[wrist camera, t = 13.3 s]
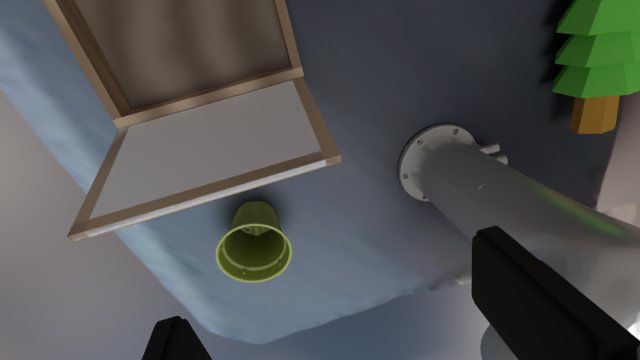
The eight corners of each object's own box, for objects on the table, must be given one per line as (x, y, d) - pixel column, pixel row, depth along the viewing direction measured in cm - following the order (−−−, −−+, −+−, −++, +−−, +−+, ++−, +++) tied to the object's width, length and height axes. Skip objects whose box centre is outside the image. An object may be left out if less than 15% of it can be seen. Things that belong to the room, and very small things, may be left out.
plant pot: (260, 252, 49) (261, 293, 41) (209, 223, 45) (199, 262, 37) (299, 212, 47) (307, 247, 39) (249, 178, 43) (247, 210, 35)
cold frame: (260, -81, 31) (260, -97, 27) (299, 71, 38) (304, 75, 34) (52, -28, 30) (20, -37, 26) (132, 118, 37) (117, 128, 33)
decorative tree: (628, 153, 37) (720, -202, 22) (527, 135, 46) (544, -125, 31) (665, 113, 41) (765, -211, 26) (566, 105, 50) (597, -139, 35)
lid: (340, 155, 23) (341, 161, 23) (302, 77, 34) (304, 82, 34) (66, 236, 22) (74, 242, 22) (118, 129, 33) (122, 134, 33)
